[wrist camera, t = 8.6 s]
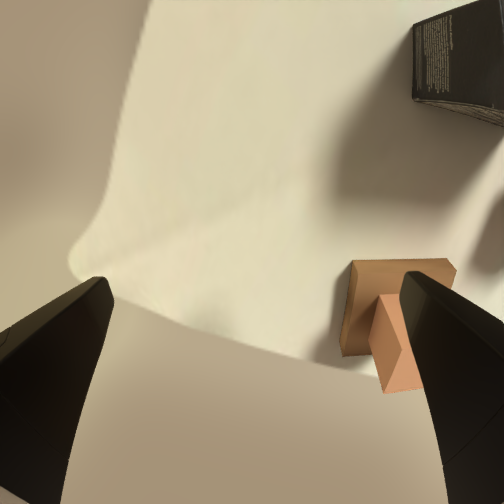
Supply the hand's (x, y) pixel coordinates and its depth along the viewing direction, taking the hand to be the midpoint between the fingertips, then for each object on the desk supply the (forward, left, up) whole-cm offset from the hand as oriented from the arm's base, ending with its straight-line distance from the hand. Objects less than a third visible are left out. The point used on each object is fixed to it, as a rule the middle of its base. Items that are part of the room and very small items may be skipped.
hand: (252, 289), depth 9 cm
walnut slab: (-12, -11, -14) cm, 21 cm away
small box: (+8, -16, -14) cm, 23 cm away
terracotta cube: (-12, -11, -12) cm, 20 cm away
